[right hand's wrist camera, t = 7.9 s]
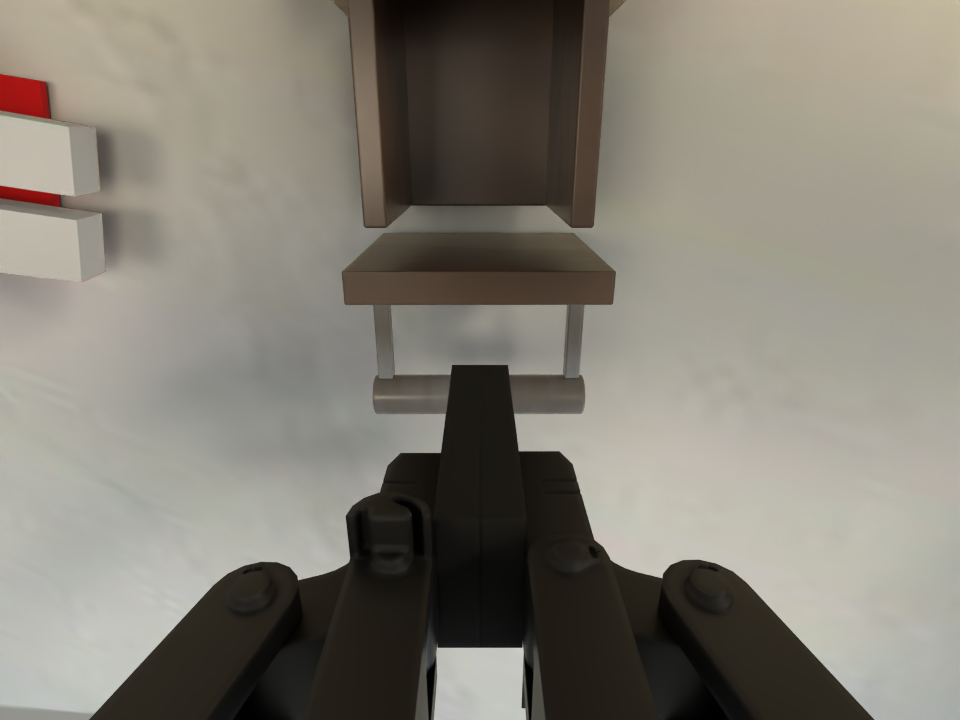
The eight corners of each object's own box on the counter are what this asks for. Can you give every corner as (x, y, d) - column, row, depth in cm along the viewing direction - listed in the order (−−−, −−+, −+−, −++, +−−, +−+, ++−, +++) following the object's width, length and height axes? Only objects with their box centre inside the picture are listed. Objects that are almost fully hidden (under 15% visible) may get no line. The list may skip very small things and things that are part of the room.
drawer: (566, 358, 30) (600, 440, 21) (391, 358, 30) (356, 441, 21) (596, -122, 22) (666, -282, 14) (361, -122, 22) (290, -283, 14)
